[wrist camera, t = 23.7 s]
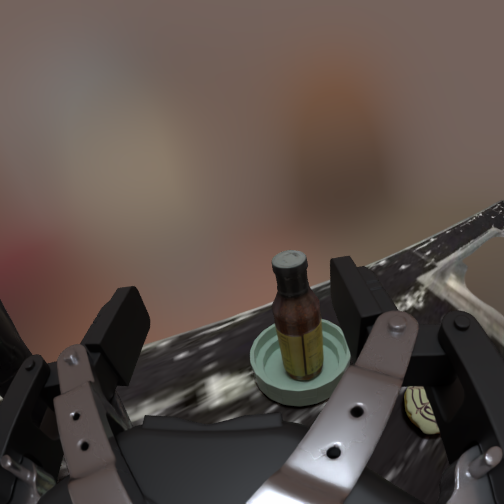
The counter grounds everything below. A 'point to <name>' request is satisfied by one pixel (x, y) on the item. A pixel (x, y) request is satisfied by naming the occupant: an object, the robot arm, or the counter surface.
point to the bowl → (291, 390)
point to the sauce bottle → (297, 317)
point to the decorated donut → (420, 410)
